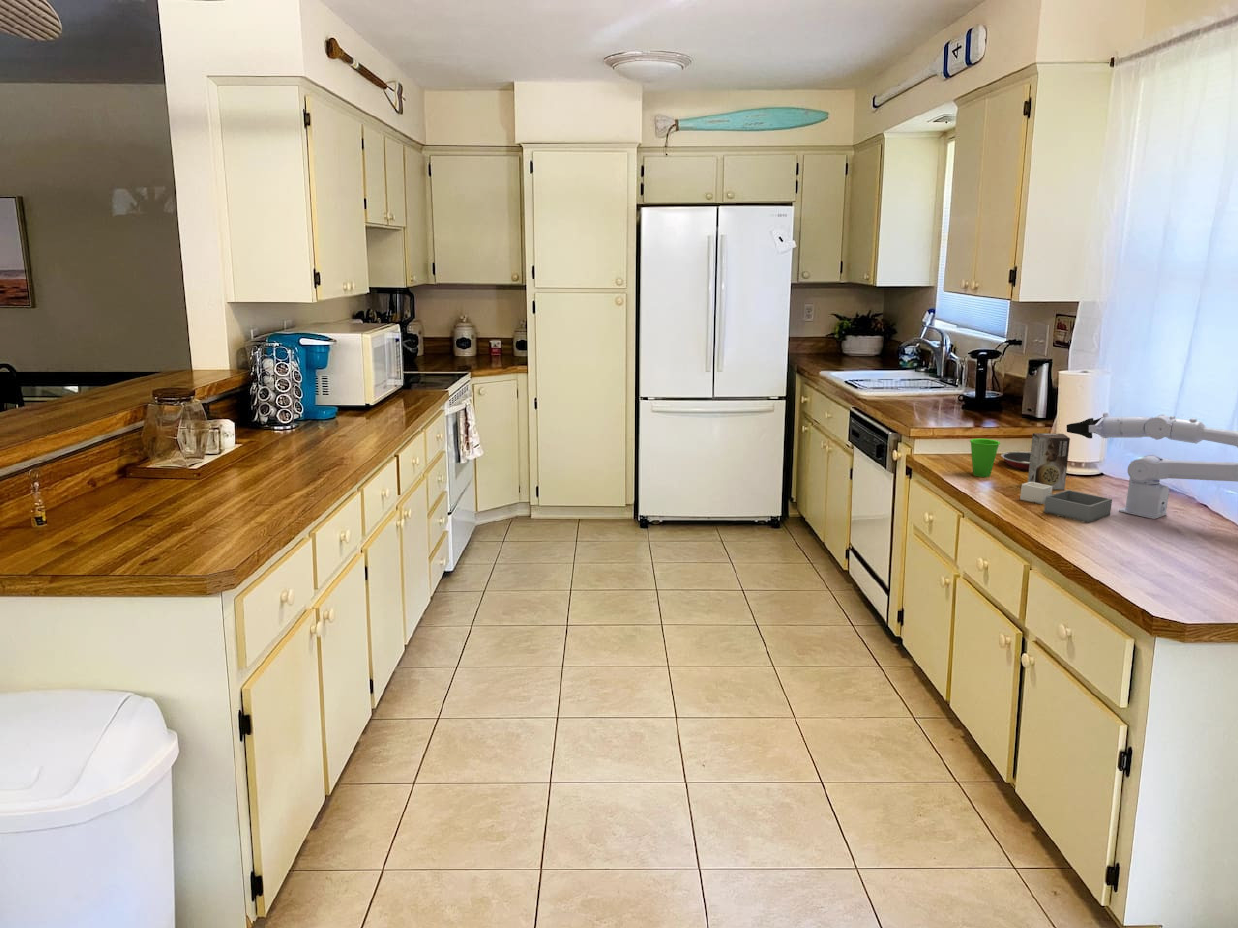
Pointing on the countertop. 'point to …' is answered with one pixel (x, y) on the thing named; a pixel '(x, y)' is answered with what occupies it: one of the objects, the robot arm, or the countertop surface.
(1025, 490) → the white crate
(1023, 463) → the frying pan
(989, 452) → the cup
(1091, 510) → the grey shallow square box
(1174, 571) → the countertop surface
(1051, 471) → the coffee box
